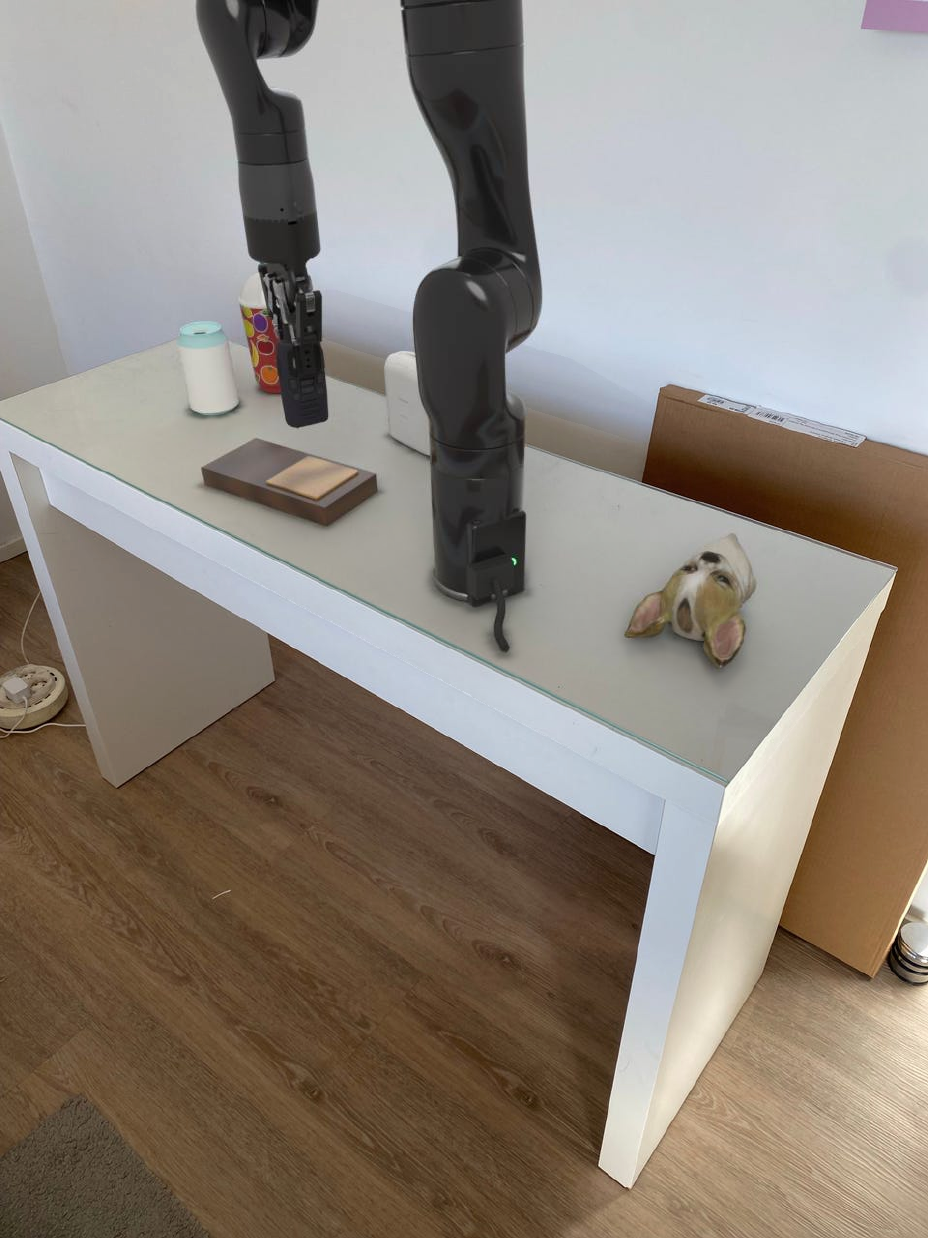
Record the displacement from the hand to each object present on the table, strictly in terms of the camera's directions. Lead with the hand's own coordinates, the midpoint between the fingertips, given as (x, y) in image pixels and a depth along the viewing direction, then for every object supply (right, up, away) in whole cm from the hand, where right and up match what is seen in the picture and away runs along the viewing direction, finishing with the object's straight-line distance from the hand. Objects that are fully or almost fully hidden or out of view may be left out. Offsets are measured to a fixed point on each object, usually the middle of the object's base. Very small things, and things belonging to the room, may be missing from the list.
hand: (299, 368), depth 103 cm
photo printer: (+12, -5, +21) cm, 25 cm away
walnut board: (-3, -12, +11) cm, 17 cm away
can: (-18, +3, +32) cm, 37 cm away
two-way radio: (0, -5, +4) cm, 6 cm away
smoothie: (-10, +8, +38) cm, 40 cm away
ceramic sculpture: (+42, -30, -13) cm, 53 cm away
